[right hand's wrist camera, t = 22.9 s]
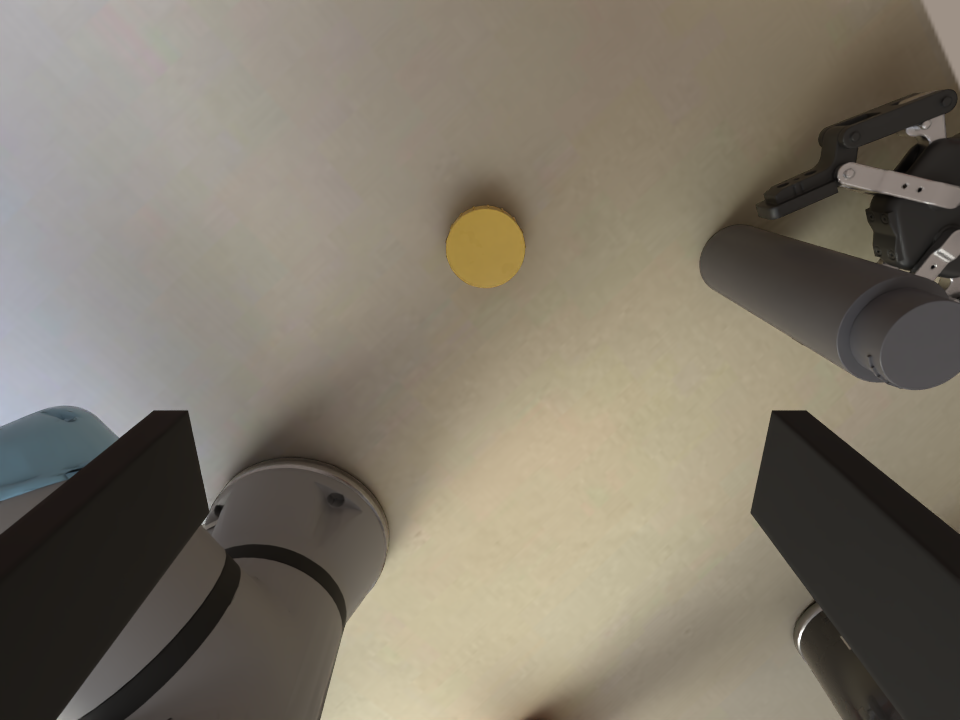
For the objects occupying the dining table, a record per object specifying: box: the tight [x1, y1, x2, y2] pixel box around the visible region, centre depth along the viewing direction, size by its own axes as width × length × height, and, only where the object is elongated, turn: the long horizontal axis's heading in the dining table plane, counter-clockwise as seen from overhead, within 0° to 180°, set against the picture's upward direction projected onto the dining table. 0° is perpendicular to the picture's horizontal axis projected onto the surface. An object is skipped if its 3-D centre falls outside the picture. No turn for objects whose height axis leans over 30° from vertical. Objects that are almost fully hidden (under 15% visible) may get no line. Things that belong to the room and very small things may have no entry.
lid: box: [446, 204, 526, 288], centre depth 39 cm, size 6×6×2 cm
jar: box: [700, 225, 960, 390], centre depth 31 cm, size 5×5×19 cm
